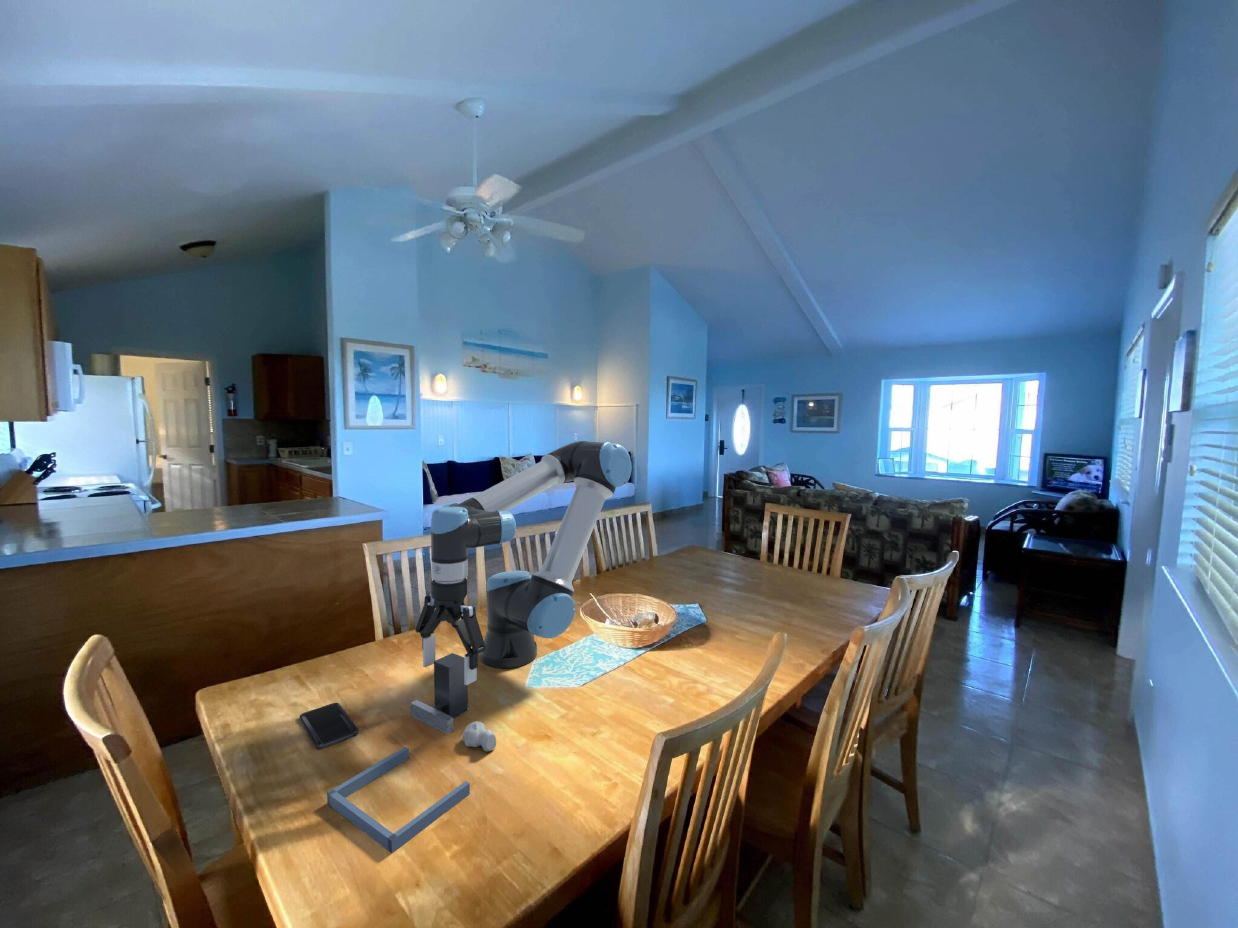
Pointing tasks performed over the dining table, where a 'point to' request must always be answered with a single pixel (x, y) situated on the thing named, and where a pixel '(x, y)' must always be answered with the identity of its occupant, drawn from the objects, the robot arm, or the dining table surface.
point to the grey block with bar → (445, 695)
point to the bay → (372, 826)
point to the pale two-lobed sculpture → (479, 736)
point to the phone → (328, 725)
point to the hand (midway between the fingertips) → (449, 673)
